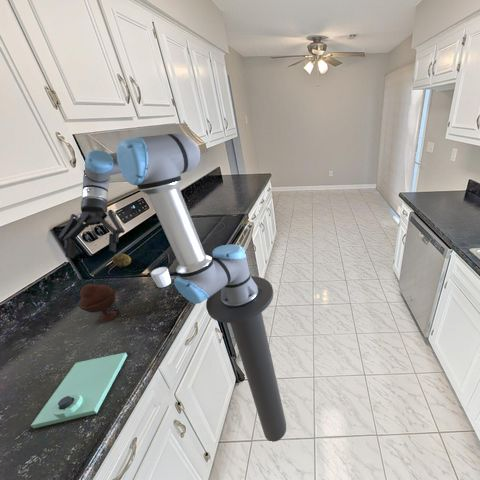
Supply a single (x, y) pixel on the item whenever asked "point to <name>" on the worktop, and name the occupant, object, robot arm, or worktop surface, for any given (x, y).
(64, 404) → the button
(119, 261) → the potato
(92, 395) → the scale
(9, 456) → the worktop surface
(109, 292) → the ice cream bowl
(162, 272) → the shot glass
